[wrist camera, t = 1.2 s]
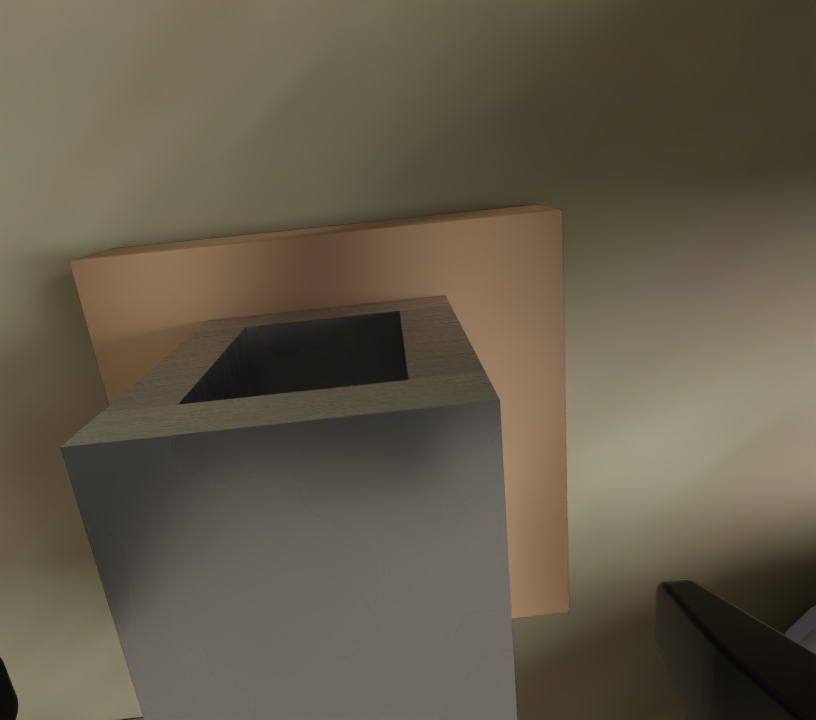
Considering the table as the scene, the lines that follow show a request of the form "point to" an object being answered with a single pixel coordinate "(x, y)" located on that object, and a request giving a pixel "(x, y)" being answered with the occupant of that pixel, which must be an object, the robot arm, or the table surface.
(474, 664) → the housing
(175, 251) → the stand
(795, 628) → the bowl
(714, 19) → the table surface
